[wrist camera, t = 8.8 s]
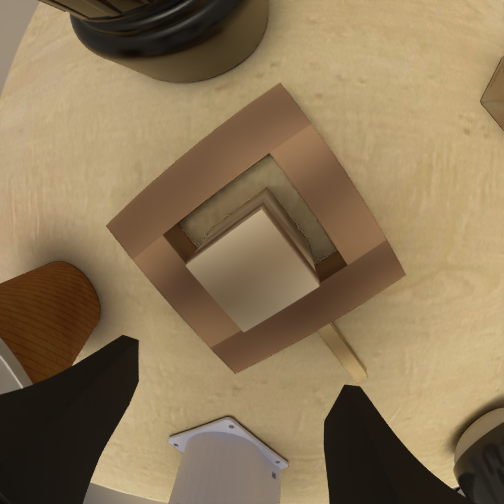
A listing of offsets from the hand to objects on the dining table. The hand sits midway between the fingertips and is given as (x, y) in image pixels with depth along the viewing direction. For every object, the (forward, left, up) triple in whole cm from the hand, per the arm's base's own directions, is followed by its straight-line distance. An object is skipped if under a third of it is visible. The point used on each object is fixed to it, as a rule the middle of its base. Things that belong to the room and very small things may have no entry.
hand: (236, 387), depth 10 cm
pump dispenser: (-30, -9, -10) cm, 33 cm away
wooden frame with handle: (-2, -1, -10) cm, 10 cm away
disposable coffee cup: (+6, +14, -10) cm, 18 cm away
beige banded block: (+2, -2, -10) cm, 10 cm away
